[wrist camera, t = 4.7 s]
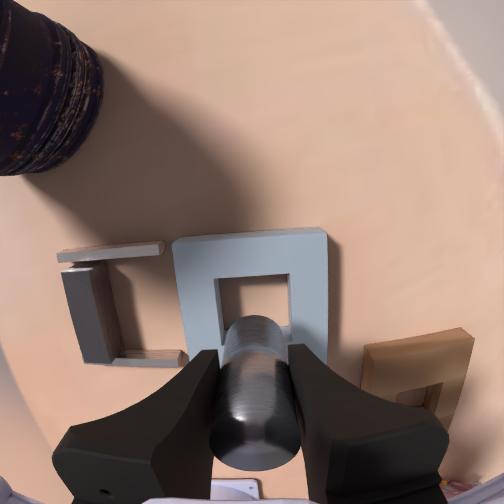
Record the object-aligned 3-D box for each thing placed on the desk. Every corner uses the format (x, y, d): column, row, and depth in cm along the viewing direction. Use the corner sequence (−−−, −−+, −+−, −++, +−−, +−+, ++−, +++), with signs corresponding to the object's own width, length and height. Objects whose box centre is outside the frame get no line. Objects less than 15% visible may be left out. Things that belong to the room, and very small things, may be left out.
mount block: (435, 425, 22) (444, 439, 20) (352, 445, 22) (357, 462, 20) (460, 327, 20) (474, 338, 18) (364, 345, 20) (373, 360, 18)
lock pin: (290, 356, 14) (309, 460, 8) (236, 370, 15) (228, 476, 8) (274, 307, 14) (288, 403, 8) (217, 324, 14) (194, 423, 8)
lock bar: (124, 346, 20) (111, 364, 18) (99, 345, 20) (84, 362, 18) (105, 260, 19) (88, 270, 16) (79, 262, 19) (60, 272, 16)
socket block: (320, 350, 20) (326, 366, 18) (197, 358, 20) (192, 375, 18) (319, 226, 18) (326, 232, 16) (179, 237, 18) (171, 244, 17)
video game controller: (462, 472, 26) (500, 486, 20) (447, 502, 25) (482, 520, 18) (414, 470, 25) (455, 491, 19) (396, 504, 24) (433, 529, 18)
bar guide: (182, 357, 20) (178, 367, 19) (91, 355, 20) (84, 363, 19) (163, 240, 18) (157, 244, 17) (65, 249, 19) (56, 253, 17)
